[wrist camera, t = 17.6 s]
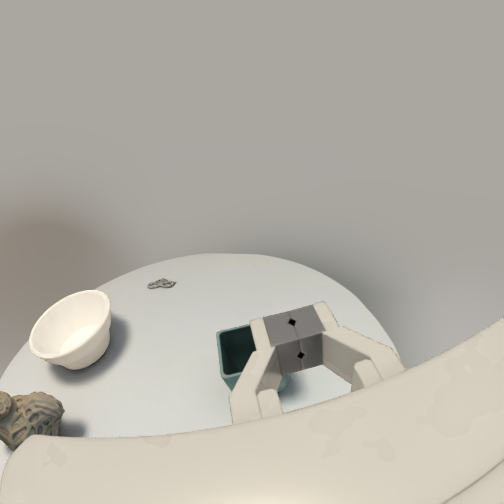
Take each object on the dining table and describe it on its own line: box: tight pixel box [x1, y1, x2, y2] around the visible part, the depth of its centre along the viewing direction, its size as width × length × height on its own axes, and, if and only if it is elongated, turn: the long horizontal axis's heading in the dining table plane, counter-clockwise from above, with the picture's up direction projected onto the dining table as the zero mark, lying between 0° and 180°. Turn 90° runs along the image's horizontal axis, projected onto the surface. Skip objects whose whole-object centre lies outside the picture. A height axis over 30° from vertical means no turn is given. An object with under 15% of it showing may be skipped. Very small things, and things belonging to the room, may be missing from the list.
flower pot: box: [216, 324, 290, 392], centre depth 40 cm, size 9×9×9 cm
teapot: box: [0, 391, 65, 451], centre depth 30 cm, size 21×12×15 cm, turn 116°
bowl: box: [29, 290, 111, 370], centre depth 53 cm, size 21×21×8 cm
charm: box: [147, 278, 176, 288], centre depth 72 cm, size 8×1×4 cm
